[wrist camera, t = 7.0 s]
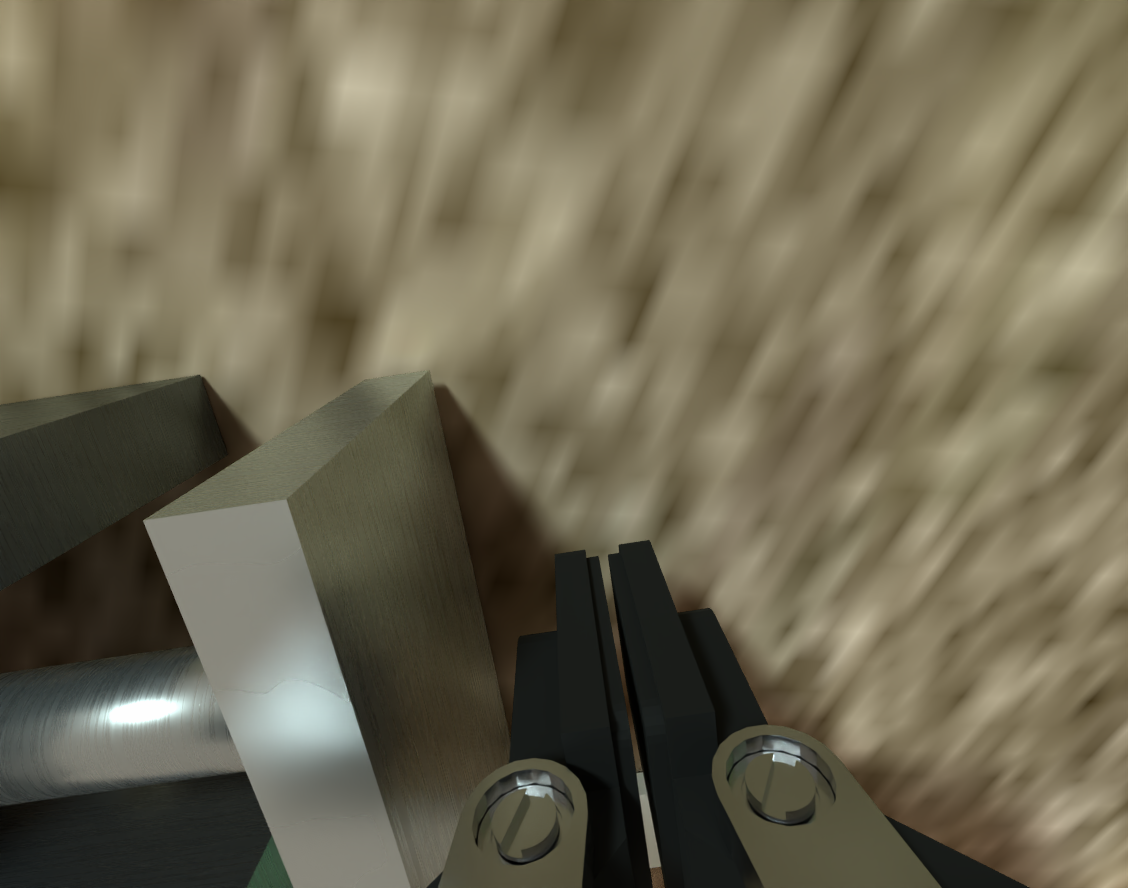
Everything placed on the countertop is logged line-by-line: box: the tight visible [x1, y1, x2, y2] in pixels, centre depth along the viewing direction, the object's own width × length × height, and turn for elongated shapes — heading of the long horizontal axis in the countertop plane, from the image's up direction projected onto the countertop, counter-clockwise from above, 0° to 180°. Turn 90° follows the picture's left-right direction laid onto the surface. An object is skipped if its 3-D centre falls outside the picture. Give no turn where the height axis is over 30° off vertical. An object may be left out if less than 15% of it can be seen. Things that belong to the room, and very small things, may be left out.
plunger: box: [0, 370, 511, 888], centre depth 10 cm, size 9×13×6 cm
